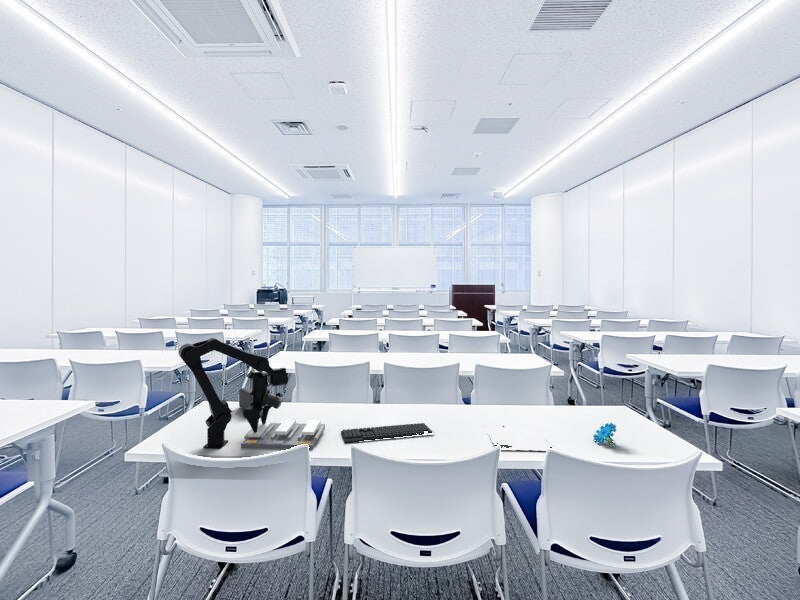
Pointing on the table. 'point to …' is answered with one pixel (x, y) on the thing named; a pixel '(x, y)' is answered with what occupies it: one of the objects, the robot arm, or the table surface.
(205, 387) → the robot arm
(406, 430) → the keyboard
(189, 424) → the table surface
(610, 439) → the blue flower
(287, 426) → the key middle
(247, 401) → the leaning round-cornered charcoal block
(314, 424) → the key
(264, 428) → the key
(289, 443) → the switch panel
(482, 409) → the table surface
